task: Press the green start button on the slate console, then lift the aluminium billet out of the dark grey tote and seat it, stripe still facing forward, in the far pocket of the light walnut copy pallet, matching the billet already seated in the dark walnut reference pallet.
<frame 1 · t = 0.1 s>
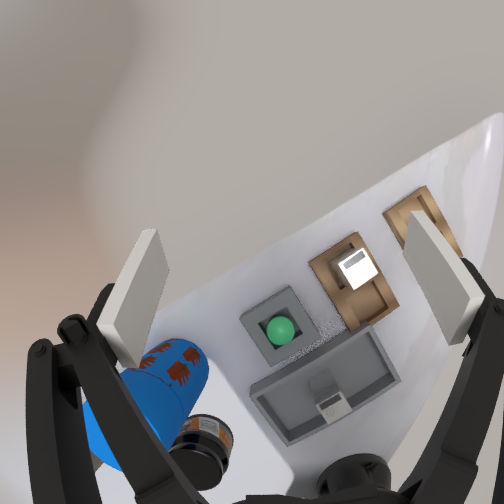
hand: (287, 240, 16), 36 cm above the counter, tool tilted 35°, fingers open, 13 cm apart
start button: (280, 329, 47), point 5 cm above the counter, slide at 0.0 cm
pallets: (389, 259, 50), on the counter
thermos: (180, 366, 53), on the counter
console: (280, 323, 52), on the counter
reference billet: (343, 265, 51), resting on pallets
tote: (324, 381, 51), on the counter
billet: (324, 382, 50), point 1 cm above the counter, touching tote
supplement container: (206, 434, 53), on the counter
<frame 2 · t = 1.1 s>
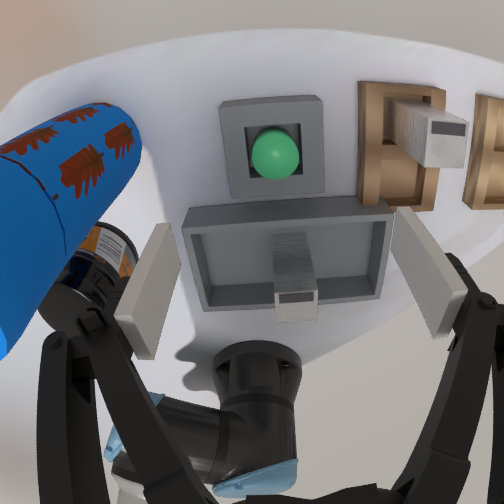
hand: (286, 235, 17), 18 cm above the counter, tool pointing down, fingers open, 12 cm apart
start button: (274, 152, 28), point 4 cm above the counter, slide at 0.0 cm
pallets: (451, 147, 30), on the counter
thermos: (100, 146, 32), on the counter
console: (272, 139, 31), on the counter
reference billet: (399, 115, 29), resting on pallets
tote: (288, 244, 39), on the counter
billet: (289, 247, 38), point 1 cm above the counter, touching tote
supplement container: (106, 250, 40), on the counter
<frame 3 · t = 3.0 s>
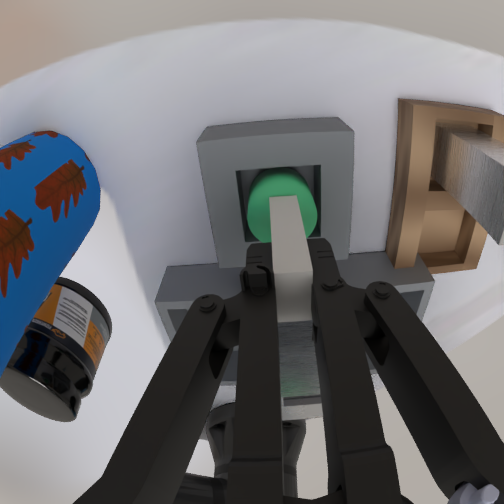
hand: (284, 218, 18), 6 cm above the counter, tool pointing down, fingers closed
start button: (281, 206, 20), point 4 cm above the counter, slide at 0.4 cm, touching gripper
pallets: (503, 187, 22), on the counter
thermos: (51, 187, 23), on the counter
console: (277, 180, 23), on the counter
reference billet: (449, 148, 20), resting on pallets
tote: (295, 309, 30), on the counter
billet: (296, 313, 30), point 1 cm above the counter, touching tote
supplement container: (73, 307, 32), on the counter
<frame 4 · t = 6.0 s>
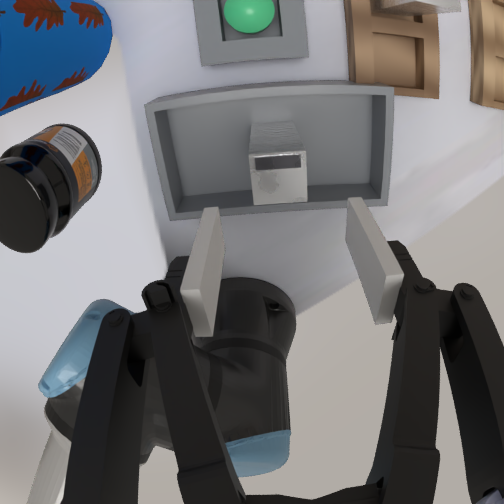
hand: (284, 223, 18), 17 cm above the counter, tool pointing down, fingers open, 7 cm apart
start button: (249, 12, 21), point 3 cm above the counter, slide at 1.0 cm
pallets: (450, 38, 23), on the counter
thermos: (71, 42, 24), on the counter
console: (250, 16, 24), on the counter
tote: (273, 139, 31), on the counter
billet: (273, 141, 31), point 1 cm above the counter, touching tote
supplement container: (68, 162, 33), on the counter
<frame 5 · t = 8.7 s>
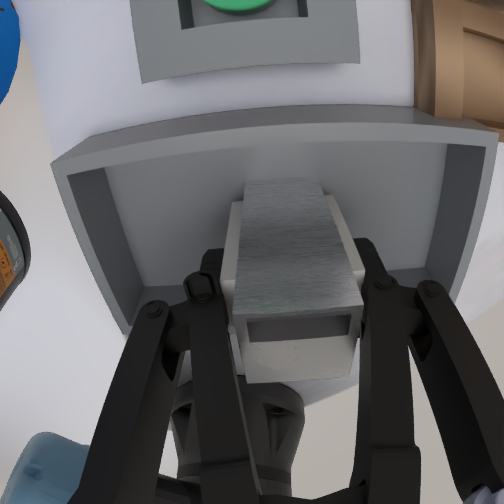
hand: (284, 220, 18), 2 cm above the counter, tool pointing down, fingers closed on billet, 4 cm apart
tote: (282, 205, 19), on the counter
billet: (283, 210, 19), point 1 cm above the counter, touching gripper, tote
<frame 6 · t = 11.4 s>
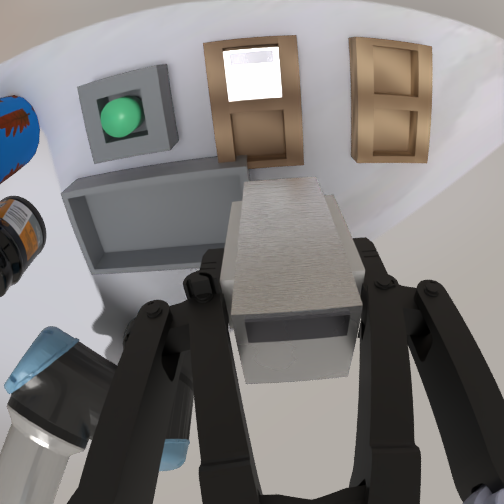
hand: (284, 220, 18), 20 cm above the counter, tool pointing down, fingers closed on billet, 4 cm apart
start button: (123, 115, 29), point 3 cm above the counter, slide at 1.0 cm
pallets: (324, 97, 31), on the counter
thermos: (13, 131, 32), on the counter
console: (134, 109, 32), on the counter
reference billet: (252, 70, 29), resting on pallets
tote: (163, 209, 39), on the counter
billet: (282, 210, 19), point 18 cm above the counter, touching gripper
supplement container: (23, 223, 40), on the counter
when the fingers open (4 cm above the counter, at t = 14.4 s): billet drops 2 cm, resting on pallets.
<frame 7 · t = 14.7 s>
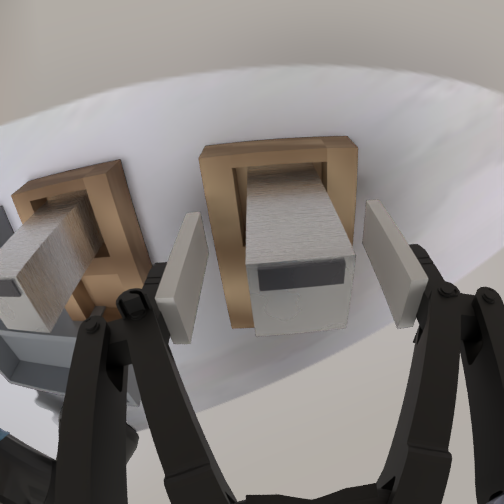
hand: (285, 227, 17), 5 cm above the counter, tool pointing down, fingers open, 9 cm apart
pallets: (181, 241, 24), on the counter
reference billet: (80, 214, 22), resting on pallets
tote: (52, 338, 32), on the counter
billet: (281, 192, 21), point 1 cm above the counter, touching pallets
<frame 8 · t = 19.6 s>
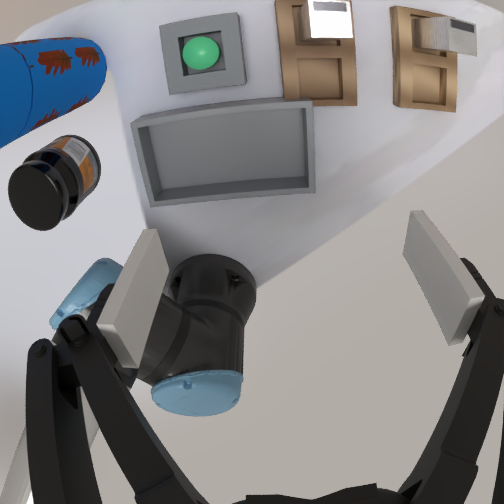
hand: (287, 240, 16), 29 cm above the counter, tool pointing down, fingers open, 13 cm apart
start button: (202, 53, 32), point 3 cm above the counter, slide at 1.0 cm
pallets: (371, 53, 33), on the counter
thermos: (76, 72, 35), on the counter
console: (206, 53, 34), on the counter
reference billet: (314, 26, 32), resting on pallets
tote: (227, 145, 42), on the counter
billet: (422, 35, 30), resting on pallets
supplement container: (75, 164, 43), on the counter
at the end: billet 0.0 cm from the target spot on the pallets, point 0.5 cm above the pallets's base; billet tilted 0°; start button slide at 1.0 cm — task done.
